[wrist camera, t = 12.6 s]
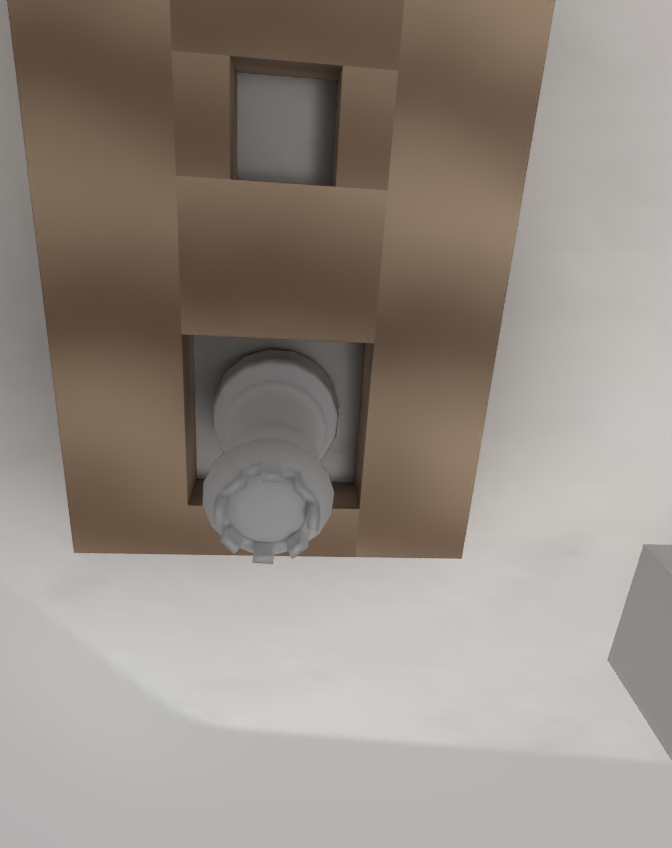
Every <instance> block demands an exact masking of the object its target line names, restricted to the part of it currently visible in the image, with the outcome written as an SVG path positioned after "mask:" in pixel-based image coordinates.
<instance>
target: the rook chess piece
mask: <svg viewBox="0 0 672 848" xmlns="http://www.w3.org/2000/svg"><path fill="white" fill-rule="evenodd" d="M338 409H339V403H338V399H337V396H336V393H335V389H334V386H333V382H332V381H331V380H330V379H329V378H328V376H327V375H326V374H325V373H324V372H323V370H322V369H321V368H320V367H319V366H318V364H317V363H315V362H313V361H311V360H309V359H307V358H305V357H303V356H301V355H300V354H298V353H296V352H290V351H281V350H271V349H269V350H265V351H262V352H258V353H255V354H252V355H248V356H245V357H244V358H242V359H241V360H240V361H239V362H237V363H236V364H235V365H234V366H233V367H231V368H230V369H229V370H228V371H226V373H225V375H224V377H223V378H222V380H221V382H220V384H219V386H218V388H217V390H216V392H215V400H214V404H213V424H212V425H213V428H214V430H215V433H216V435H217V438H218V441H219V443H220V446H221V448H222V450H223V451H224V453H223V455H222V456H221V457H219V458H218V459H217V460H215V462H214V464H213V465H212V467H211V469H210V471H209V473H208V475H207V477H206V478H205V480H204V484H203V507H204V510H205V512H206V515H207V517H208V519H209V522H210V524H211V527H213V528H214V529H215V530H216V531H217V532H218V533H219V534H220V535H221V538H220V542H221V543H222V544H223V545H224V546H225V547H226V548H227V549H228V550H229V551H230V552H231V553H233V554H235V553H236V552H237V551H238V550H239V549H240V548H241V549H244V550H246V551H248V552H251V553H254V554H253V562H252V563H265V564H273V555H274V554H279V553H283V552H287V551H288V552H289V554H290V555H291V557H292V559H293V558H294V557H295V556H297V555H298V554H300V553H301V552H302V551H304V550H305V549H307V548H308V542H309V541H310V540H311V539H313V538H314V537H316V536H317V535H318V534H319V533H320V532H321V530H322V528H323V527H324V525H325V524H326V522H327V520H328V519H329V517H330V516H331V512H332V504H333V497H334V490H333V487H332V484H331V481H330V478H329V474H328V471H327V469H326V468H325V467H324V466H323V465H322V464H321V461H320V460H321V459H322V458H323V456H324V455H325V453H326V452H327V450H328V448H329V447H330V445H331V443H332V442H333V440H334V438H335V437H336V431H337V423H338V416H339V412H338Z"/></svg>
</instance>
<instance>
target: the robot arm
mask: <svg viewBox="0 0 672 848" xmlns="http://www.w3.org/2000/svg"><path fill="white" fill-rule="evenodd" d="M608 661H609V663H610V665H611V666H612V668H613V669H614V671H615V672H616V674H617V675H618V677H619V679H620V680H621V682H622V683H623V685H624V686H625V688H626V690H627V691H628V693H629V694H630V696H631V697H632V699H633V701H634V702H635V704H636V705H637V707H638V708H639V710H640V711H641V713H642V715H643V716H644V718H645V719H646V721H647V722H648V724H649V726H650V727H651V729H652V730H653V732H654V733H655V735H656V737H657V738H658V740H659V741H660V743H661V744H662V746H663V747H664V749H665V751H666V752H667V754H668V755H669V757H670V758H671V760H672V545H649V544H644V545H643V549H642V552H641V555H640V558H639V561H638V565H637V568H636V571H635V574H634V577H633V580H632V584H631V587H630V590H629V593H628V596H627V599H626V603H625V606H624V609H623V612H622V615H621V619H620V622H619V625H618V628H617V631H616V634H615V638H614V641H613V644H612V647H611V650H610V653H609V657H608Z"/></svg>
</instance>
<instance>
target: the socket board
mask: <svg viewBox="0 0 672 848" xmlns="http://www.w3.org/2000/svg"><path fill="white" fill-rule="evenodd" d="M7 2H8V11H9V19H10V27H11V36H12V44H13V52H14V60H15V69H16V77H17V85H18V93H19V102H20V110H21V118H22V127H23V135H24V143H25V151H26V160H27V168H28V176H29V184H30V193H31V201H32V209H33V218H34V226H35V234H36V242H37V251H38V259H39V267H40V275H41V284H42V292H43V300H44V309H45V317H46V325H47V333H48V342H49V350H50V358H51V366H52V375H53V383H54V391H55V400H56V408H57V416H58V424H59V433H60V441H61V449H62V457H63V466H64V474H65V482H66V491H67V499H68V507H69V515H70V524H71V532H72V540H73V548H74V553H126V554H192V555H253V554H254V553H251V552H248V551H246V550H244V549H241V548H240V549H239V550H238V551H237V552H236V553H235V554H233V553H231V552H230V551H229V550H228V549H227V548H226V547H225V546H224V545H223V544H222V543H221V542H220V538H221V535H220V534H219V533H218V532H217V531H216V530H215V529H214V528H213V527H211V524H210V522H209V519H208V517H207V515H206V512H205V510H204V507H203V484H204V480H205V479H197V466H196V430H195V395H194V359H193V335H206V336H228V337H249V338H270V339H292V340H313V341H334V342H356V343H366V346H365V358H364V370H363V382H362V394H361V406H360V419H359V431H358V443H357V455H356V467H355V479H354V483H331V484H332V487H333V490H334V497H333V504H332V512H331V516H330V517H329V519H328V520H327V522H326V524H325V525H324V527H323V528H322V530H321V532H320V533H319V534H318V535H317V536H316V537H314V538H313V539H311V540H310V541H309V542H308V548H307V549H305V550H304V551H302V552H301V553H300V554H298V555H297V556H324V557H390V558H457V559H462V553H463V547H464V541H465V535H466V529H467V523H468V517H469V511H470V505H471V499H472V493H473V487H474V481H475V476H476V470H477V464H478V458H479V452H480V446H481V440H482V434H483V428H484V422H485V416H486V410H487V404H488V398H489V392H490V386H491V380H492V374H493V368H494V362H495V356H496V350H497V344H498V338H499V332H500V326H501V320H502V314H503V309H504V303H505V297H506V291H507V285H508V279H509V273H510V267H511V261H512V255H513V249H514V243H515V237H516V231H517V225H518V219H519V213H520V207H521V201H522V195H523V189H524V183H525V177H526V171H527V165H528V159H529V153H530V147H531V141H532V136H533V130H534V124H535V118H536V112H537V106H538V100H539V94H540V88H541V82H542V76H543V70H544V64H545V58H546V52H547V46H548V40H549V34H550V28H551V22H552V16H553V10H554V4H555V0H7ZM237 72H245V73H256V74H268V75H280V76H291V77H303V78H315V79H326V80H338V86H337V104H336V122H335V140H334V158H333V176H332V186H317V185H303V184H289V183H274V182H260V181H246V180H237ZM273 556H291V555H290V554H289V552H288V551H287V552H283V553H279V554H274V555H273Z"/></svg>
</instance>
